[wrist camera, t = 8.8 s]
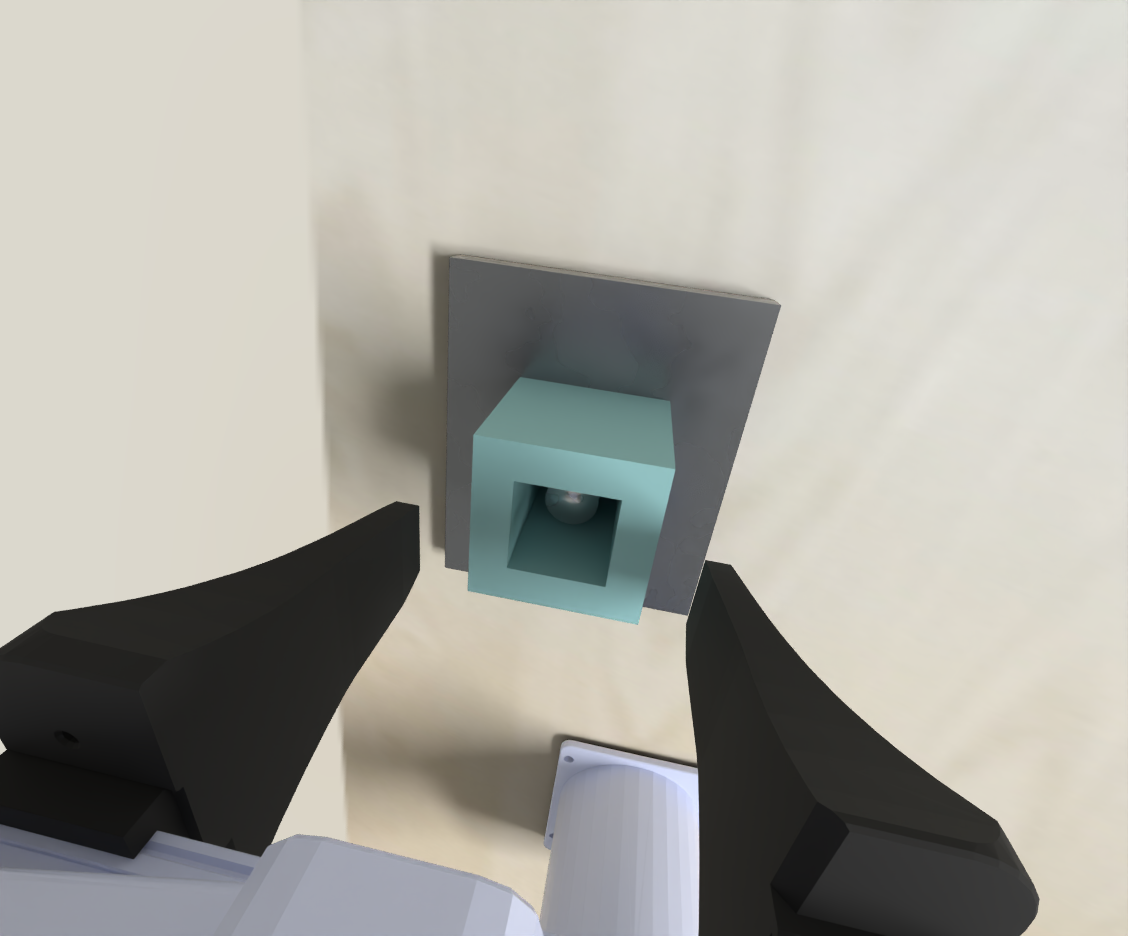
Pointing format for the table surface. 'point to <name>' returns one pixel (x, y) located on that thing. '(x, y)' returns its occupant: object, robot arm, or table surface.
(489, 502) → the square hole block
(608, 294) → the pin plate
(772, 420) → the table surface
